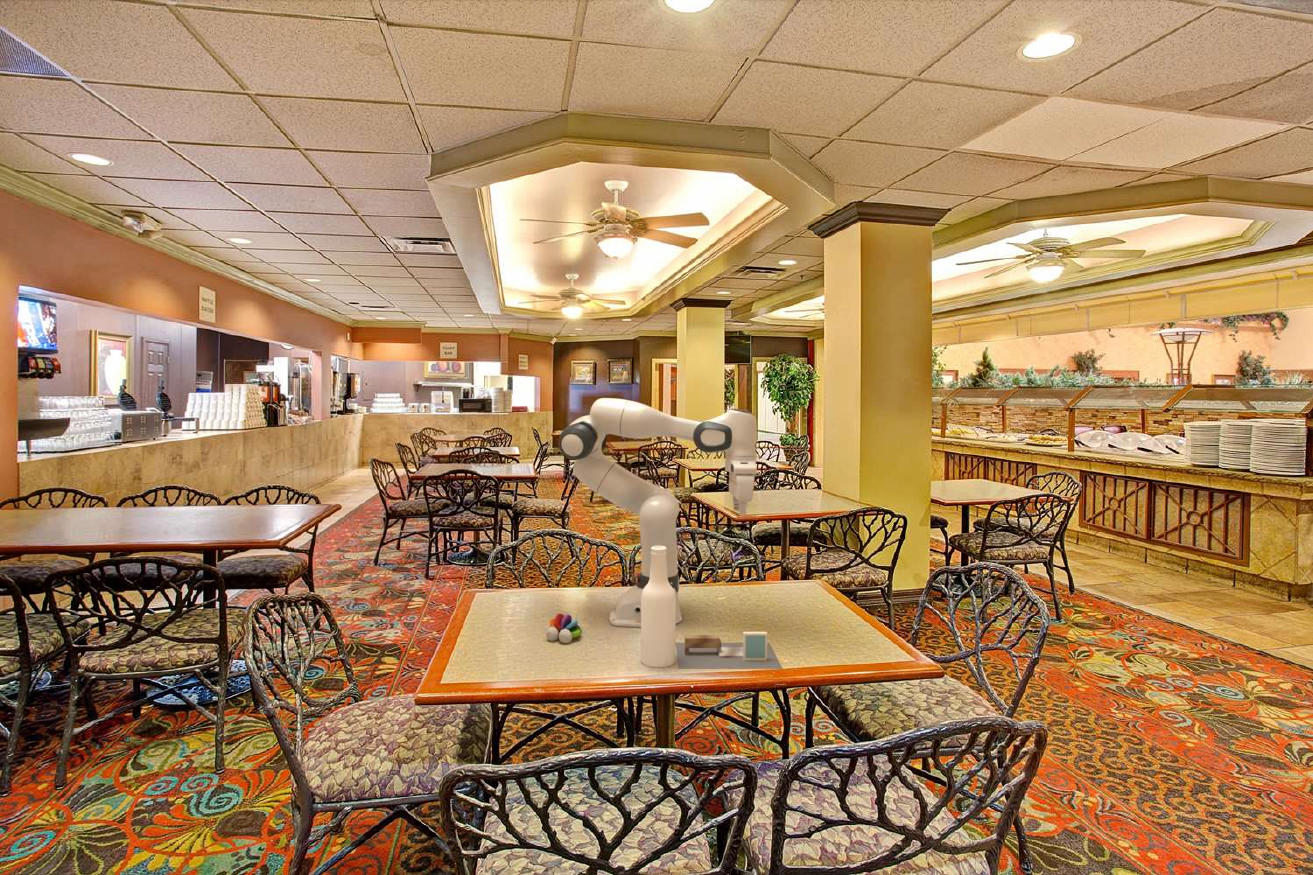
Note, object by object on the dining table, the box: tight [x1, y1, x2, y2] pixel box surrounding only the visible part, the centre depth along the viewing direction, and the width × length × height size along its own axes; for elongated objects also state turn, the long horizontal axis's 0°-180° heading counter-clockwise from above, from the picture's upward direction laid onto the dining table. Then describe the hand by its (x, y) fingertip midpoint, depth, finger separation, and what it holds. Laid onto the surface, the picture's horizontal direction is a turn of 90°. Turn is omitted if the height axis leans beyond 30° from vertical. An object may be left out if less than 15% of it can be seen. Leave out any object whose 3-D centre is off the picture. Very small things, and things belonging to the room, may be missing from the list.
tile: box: [742, 631, 768, 660], centre depth 169 cm, size 6×2×7 cm, turn 91°
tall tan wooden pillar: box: [684, 634, 743, 658], centre depth 173 cm, size 16×6×4 cm, turn 91°
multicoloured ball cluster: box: [545, 612, 583, 644], centre depth 185 cm, size 8×10×7 cm
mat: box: [675, 642, 783, 670], centre depth 172 cm, size 26×18×1 cm
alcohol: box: [640, 546, 677, 668], centre depth 167 cm, size 9×9×30 cm
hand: (739, 513), depth 190 cm, fingers open, 8 cm apart
